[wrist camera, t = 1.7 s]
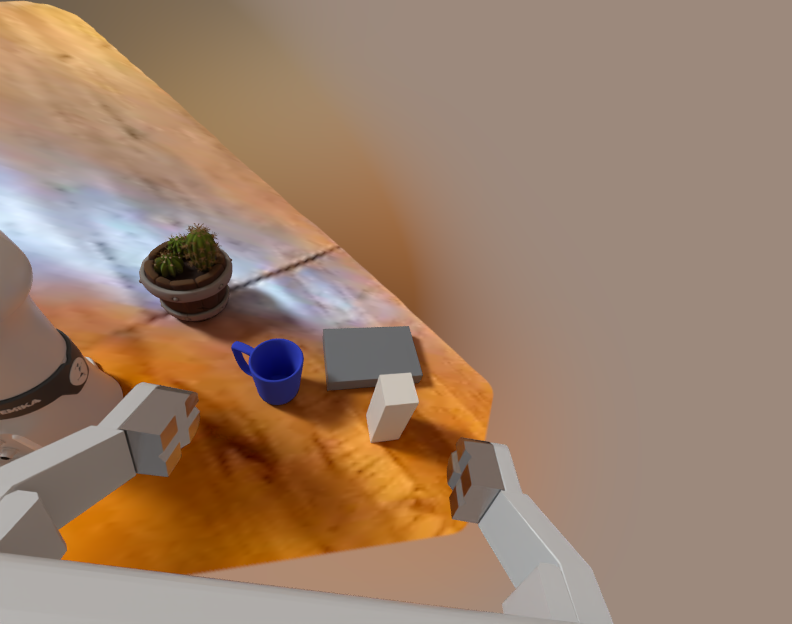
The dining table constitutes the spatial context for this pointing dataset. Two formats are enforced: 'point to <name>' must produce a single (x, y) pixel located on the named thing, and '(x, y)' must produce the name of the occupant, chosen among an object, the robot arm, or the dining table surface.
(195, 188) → the dining table surface
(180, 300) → the flowerpot
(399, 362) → the block
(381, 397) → the block
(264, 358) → the mug
